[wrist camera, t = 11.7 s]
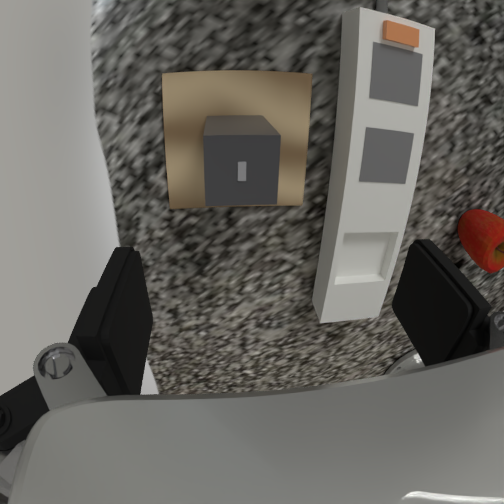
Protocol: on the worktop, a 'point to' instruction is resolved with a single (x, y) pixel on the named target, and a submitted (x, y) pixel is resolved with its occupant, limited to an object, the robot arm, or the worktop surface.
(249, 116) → the block
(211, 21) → the worktop surface
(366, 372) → the worktop surface
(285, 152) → the coaster
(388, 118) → the power strip
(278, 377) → the worktop surface
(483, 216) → the apple
